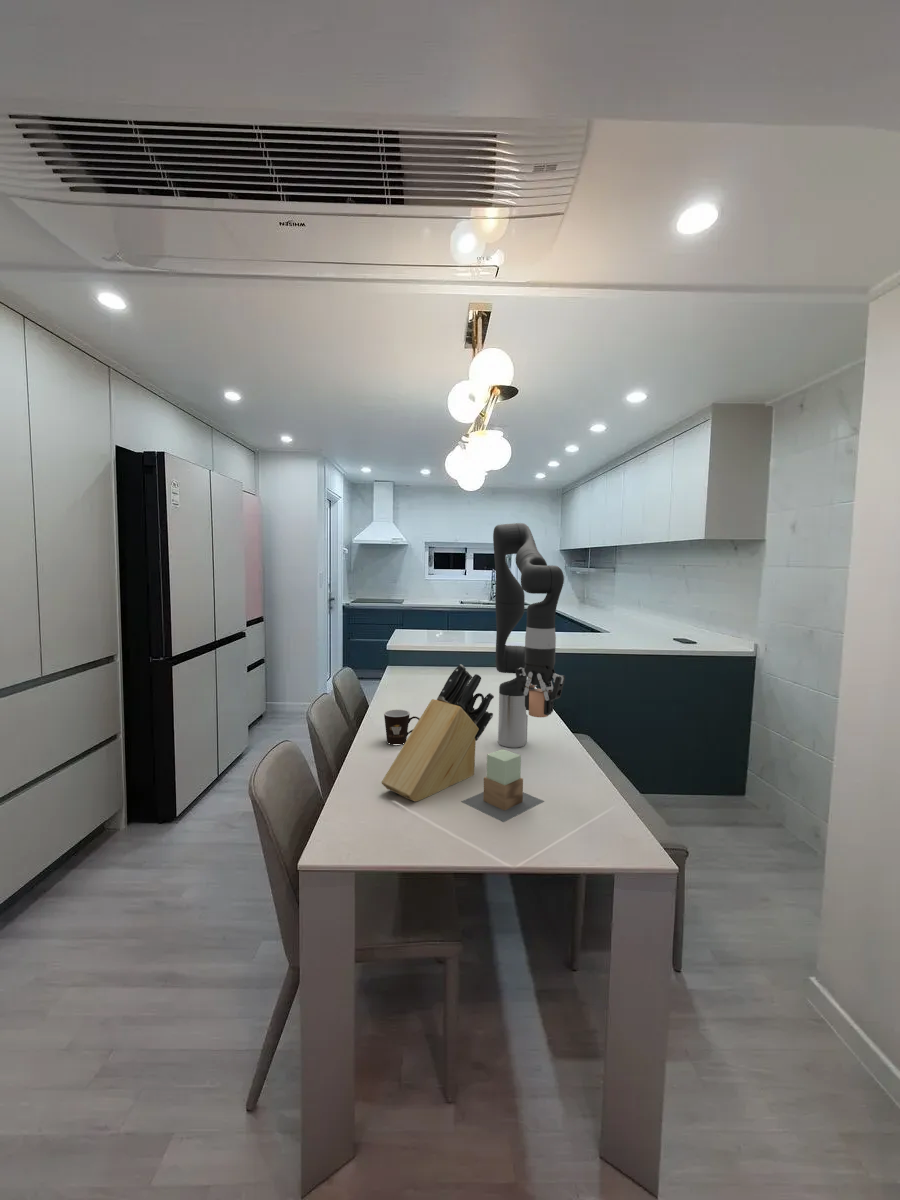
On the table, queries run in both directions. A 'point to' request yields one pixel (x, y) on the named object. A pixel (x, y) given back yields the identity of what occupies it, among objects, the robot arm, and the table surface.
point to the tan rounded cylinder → (536, 703)
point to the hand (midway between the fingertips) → (538, 711)
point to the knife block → (441, 740)
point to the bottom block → (503, 793)
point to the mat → (499, 813)
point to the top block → (503, 766)
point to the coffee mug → (397, 725)
